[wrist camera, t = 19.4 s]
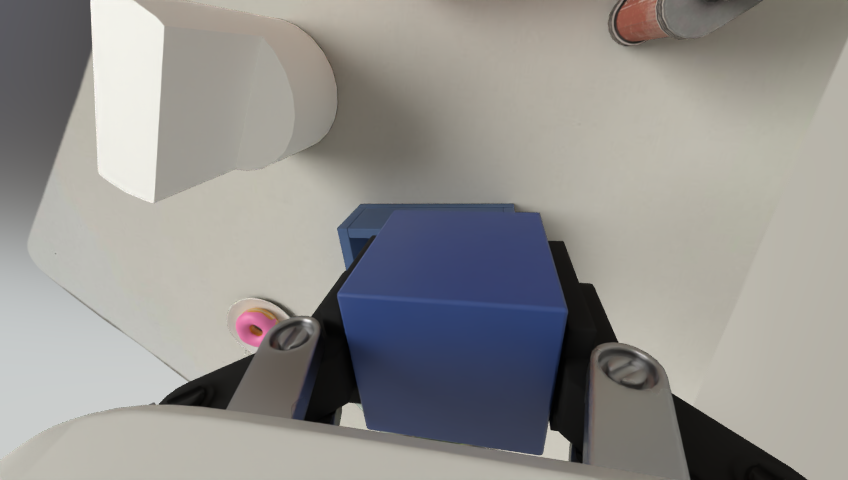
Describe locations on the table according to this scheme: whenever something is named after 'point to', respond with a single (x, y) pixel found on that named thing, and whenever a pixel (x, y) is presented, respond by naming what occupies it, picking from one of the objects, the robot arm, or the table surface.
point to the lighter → (671, 18)
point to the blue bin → (375, 216)
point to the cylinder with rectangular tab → (201, 93)
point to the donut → (253, 321)
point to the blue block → (457, 328)
